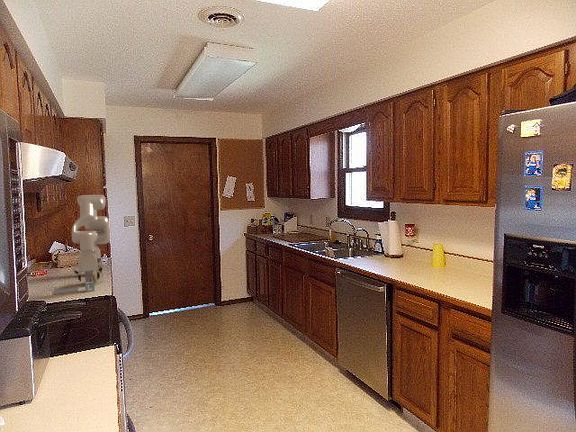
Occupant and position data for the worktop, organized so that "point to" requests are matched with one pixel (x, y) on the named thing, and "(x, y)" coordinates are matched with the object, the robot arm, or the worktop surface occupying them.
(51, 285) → the worktop surface
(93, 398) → the worktop surface
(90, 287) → the letter cube
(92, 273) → the coffee box
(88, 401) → the worktop surface
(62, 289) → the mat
